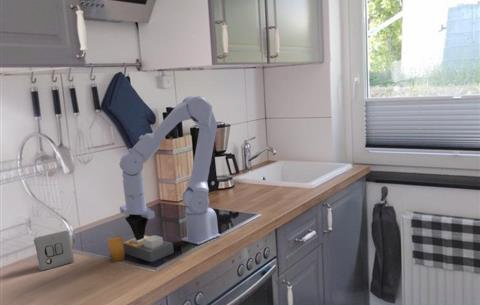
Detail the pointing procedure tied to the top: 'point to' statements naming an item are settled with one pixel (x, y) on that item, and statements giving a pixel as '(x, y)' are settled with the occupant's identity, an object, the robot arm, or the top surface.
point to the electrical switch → (54, 250)
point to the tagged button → (137, 241)
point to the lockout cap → (116, 248)
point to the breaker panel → (148, 250)
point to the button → (153, 242)
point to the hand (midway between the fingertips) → (139, 238)
